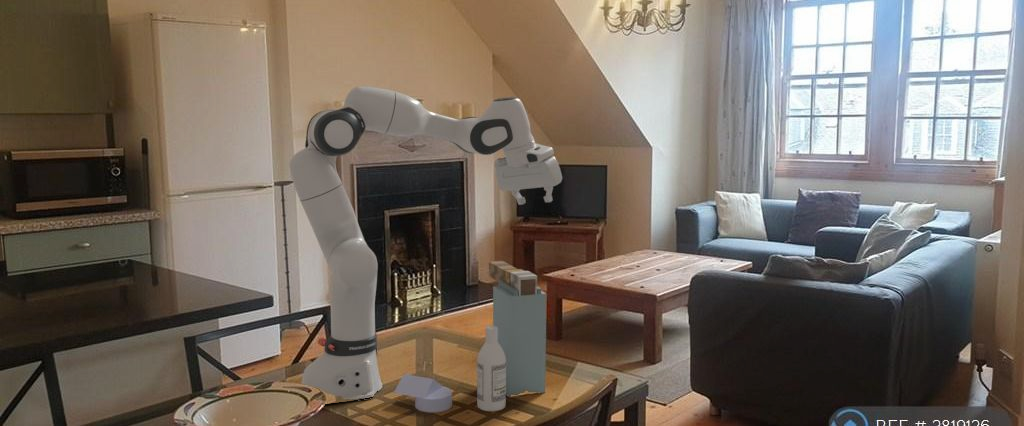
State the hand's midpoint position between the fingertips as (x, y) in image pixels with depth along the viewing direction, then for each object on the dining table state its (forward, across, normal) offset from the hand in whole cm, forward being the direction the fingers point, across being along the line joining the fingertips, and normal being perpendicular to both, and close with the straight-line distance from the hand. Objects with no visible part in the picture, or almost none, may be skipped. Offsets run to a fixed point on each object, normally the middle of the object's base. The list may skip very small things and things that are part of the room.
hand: (535, 202), depth 215 cm
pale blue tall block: (+41, 0, -28) cm, 50 cm away
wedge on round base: (+34, -10, -50) cm, 61 cm away
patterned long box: (+16, -1, -18) cm, 24 cm away
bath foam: (+38, +4, -42) cm, 57 cm away
